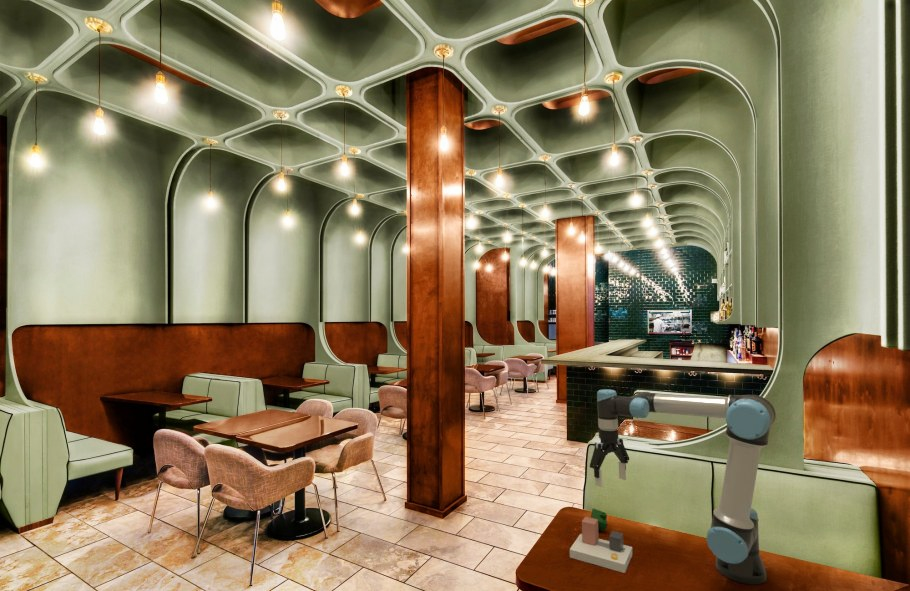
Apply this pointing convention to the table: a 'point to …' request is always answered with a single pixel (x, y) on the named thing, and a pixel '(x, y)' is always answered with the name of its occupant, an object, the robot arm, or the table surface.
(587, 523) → the post
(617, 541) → the breaker toggle
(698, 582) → the table surface
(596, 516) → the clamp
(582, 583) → the table surface
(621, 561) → the block
